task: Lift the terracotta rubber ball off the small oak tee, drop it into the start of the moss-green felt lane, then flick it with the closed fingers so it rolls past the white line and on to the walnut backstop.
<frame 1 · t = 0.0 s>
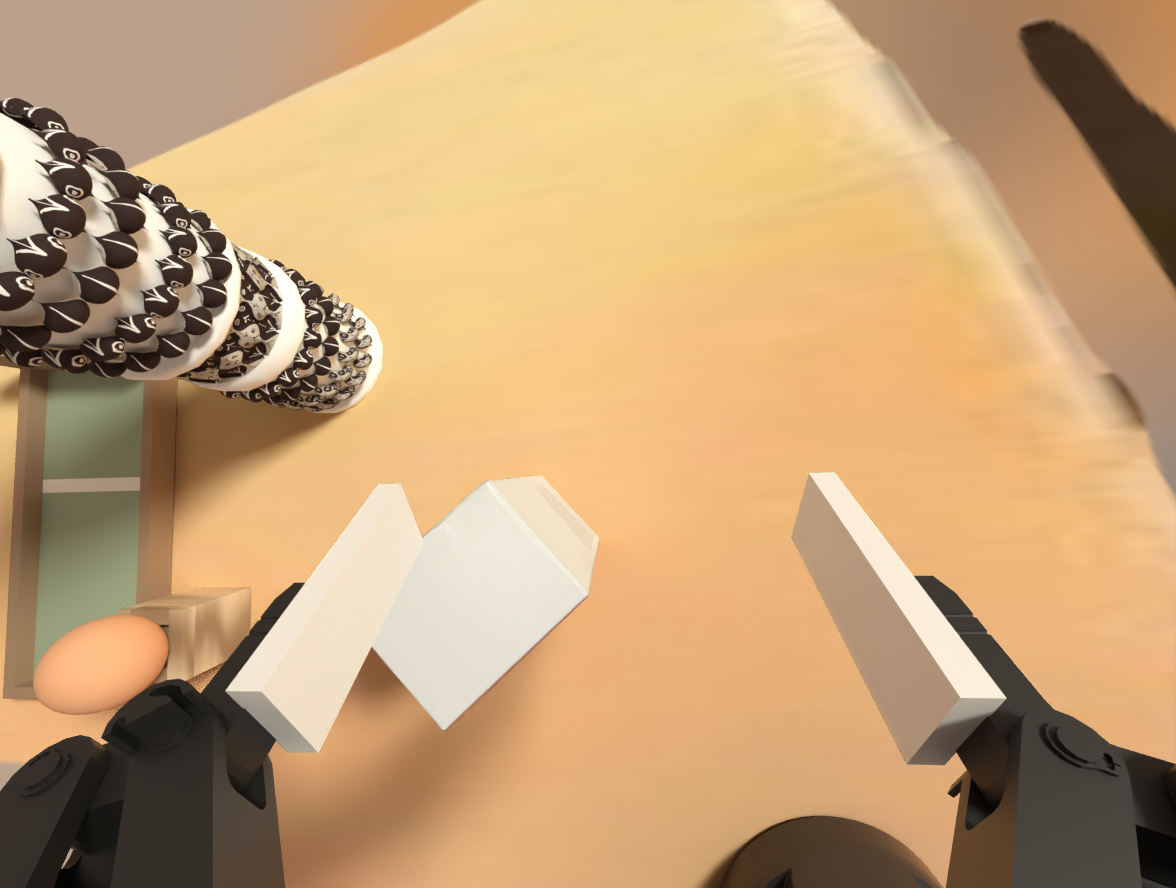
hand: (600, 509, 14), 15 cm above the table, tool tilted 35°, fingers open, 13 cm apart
decorative candle: (330, 358, 31), on the table
small box: (531, 544, 30), on the table
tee: (221, 618, 31), on the table
ball: (106, 662, 24), point 7 cm above the table, touching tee
lane: (106, 517, 32), on the table
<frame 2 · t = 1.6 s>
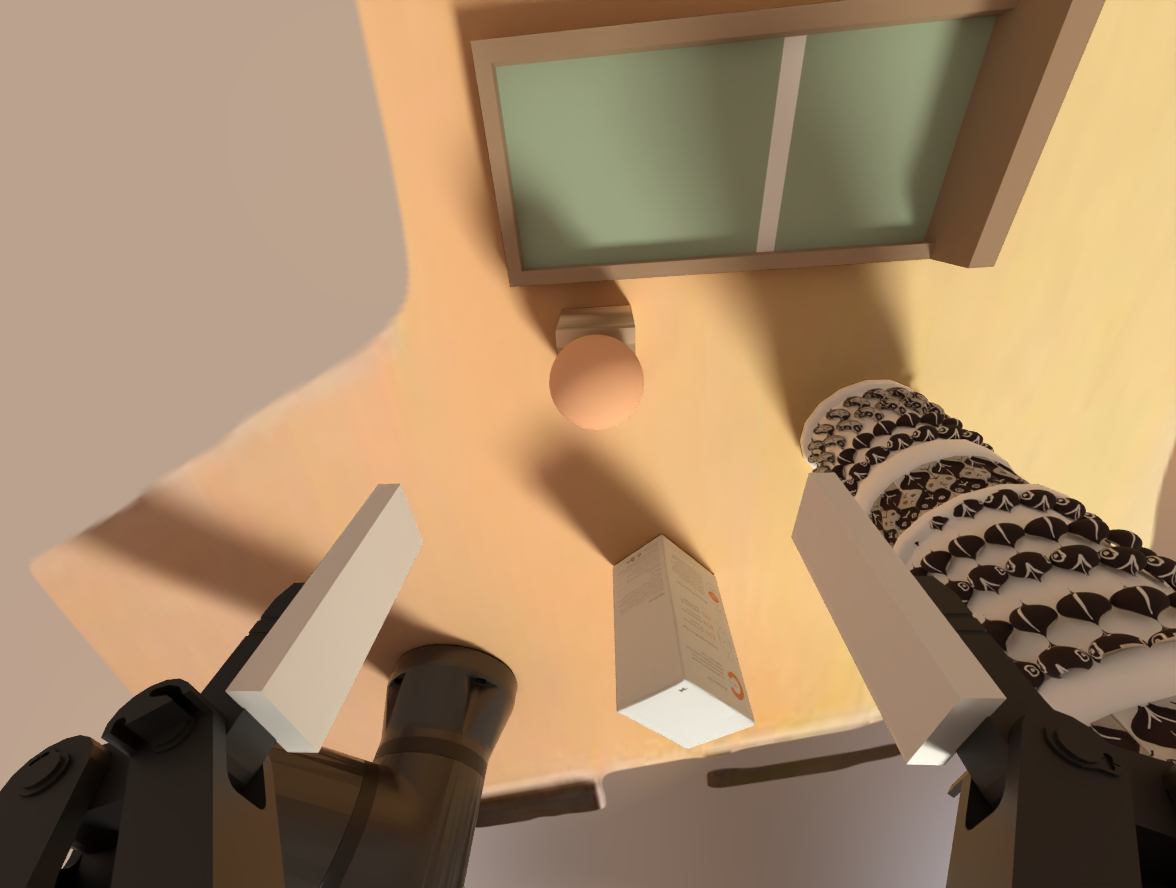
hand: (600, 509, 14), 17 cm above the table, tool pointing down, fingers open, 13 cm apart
decorative candle: (857, 429, 31), on the table
small box: (663, 569, 40), on the table
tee: (598, 340, 28), on the table
ball: (596, 382, 22), point 7 cm above the table, touching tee
lane: (727, 160, 22), on the table
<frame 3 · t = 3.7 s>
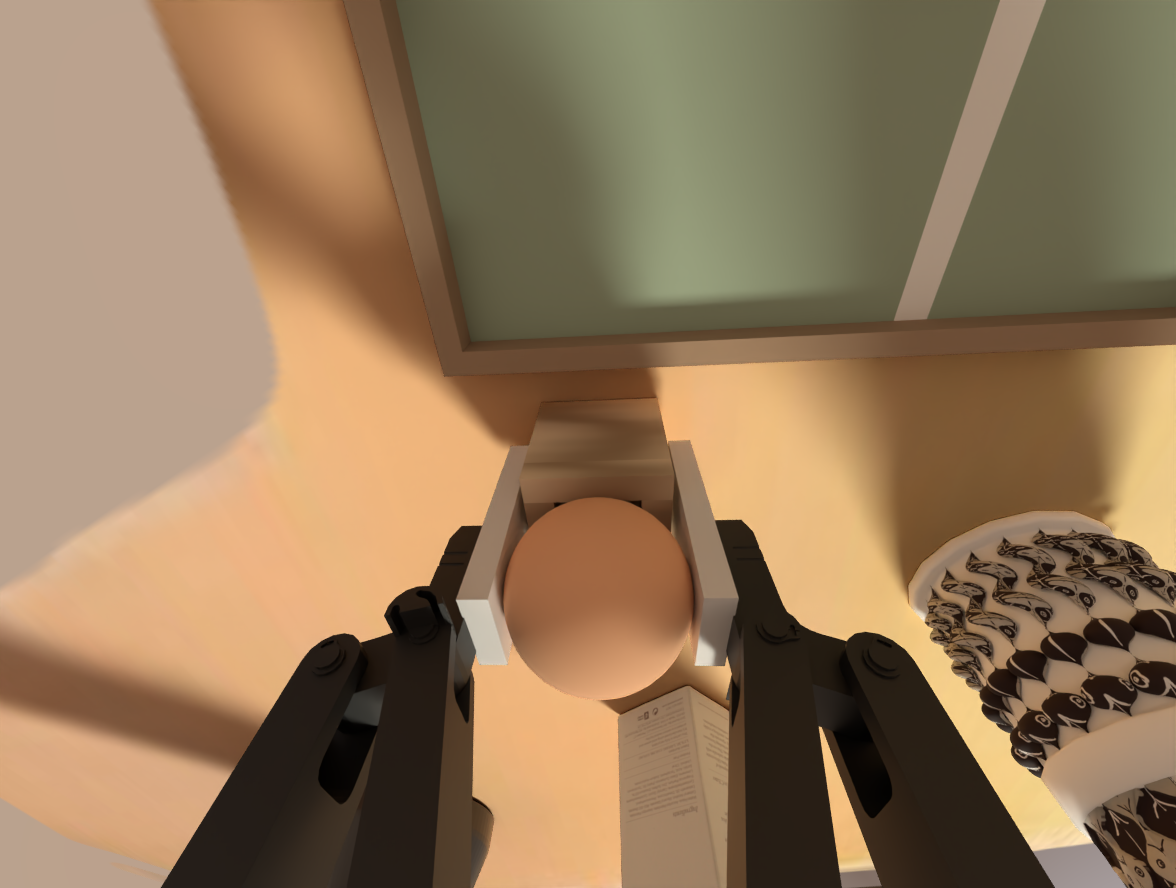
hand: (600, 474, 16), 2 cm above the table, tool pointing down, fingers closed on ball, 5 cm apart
decorative candle: (1000, 571, 20), on the table
small box: (687, 717, 29), on the table
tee: (601, 448, 17), on the table
ball: (598, 590, 11), point 7 cm above the table, touching gripper, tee
lane: (860, 149, 11), on the table
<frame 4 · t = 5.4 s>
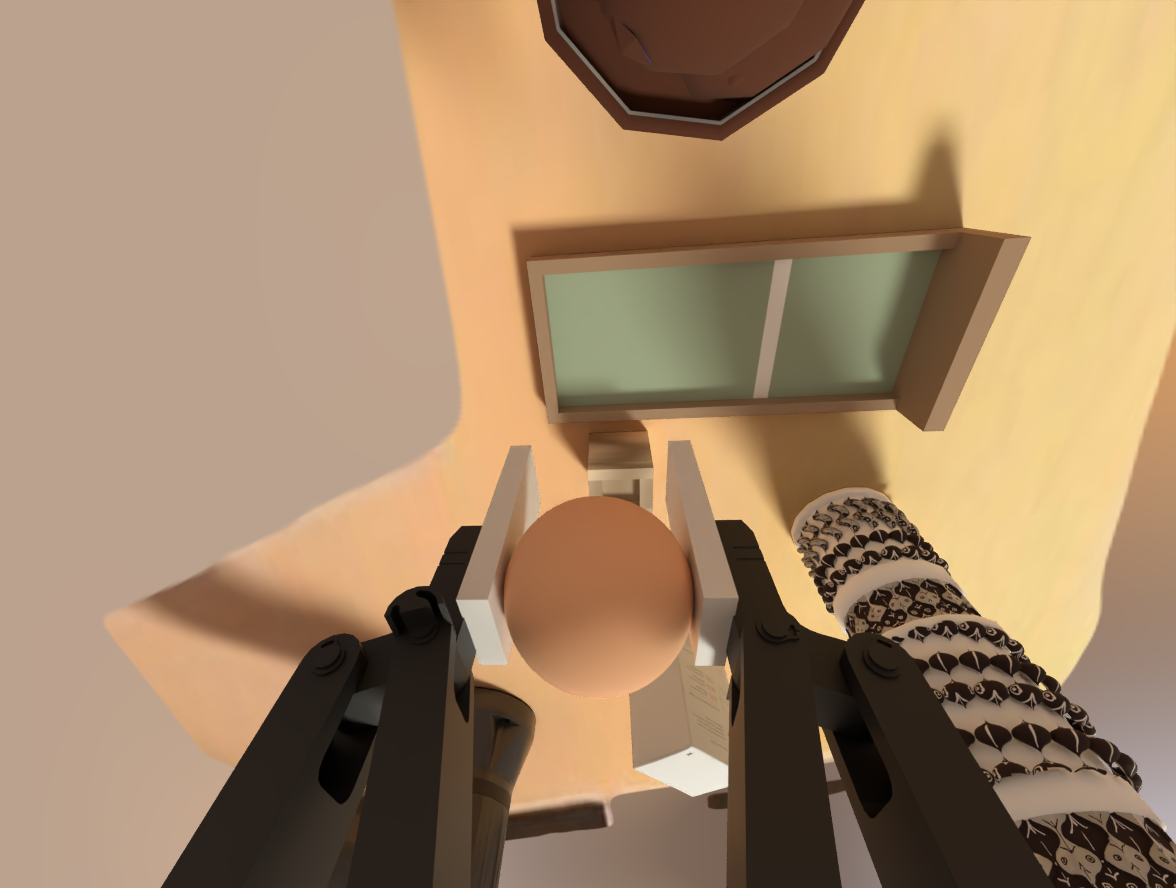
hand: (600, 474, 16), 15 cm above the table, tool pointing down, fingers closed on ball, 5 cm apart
decorative candle: (840, 522, 36), on the table
ice cream bowl: (668, 13, 20), on the table
small box: (671, 628, 45), on the table
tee: (619, 455, 33), on the table
ball: (598, 589, 11), point 20 cm above the table, touching gripper
lane: (729, 332, 28), on the table
when the fingers open (2 cm above the table, at t = 7.6 s): ball drops 4 cm, resting on lane.
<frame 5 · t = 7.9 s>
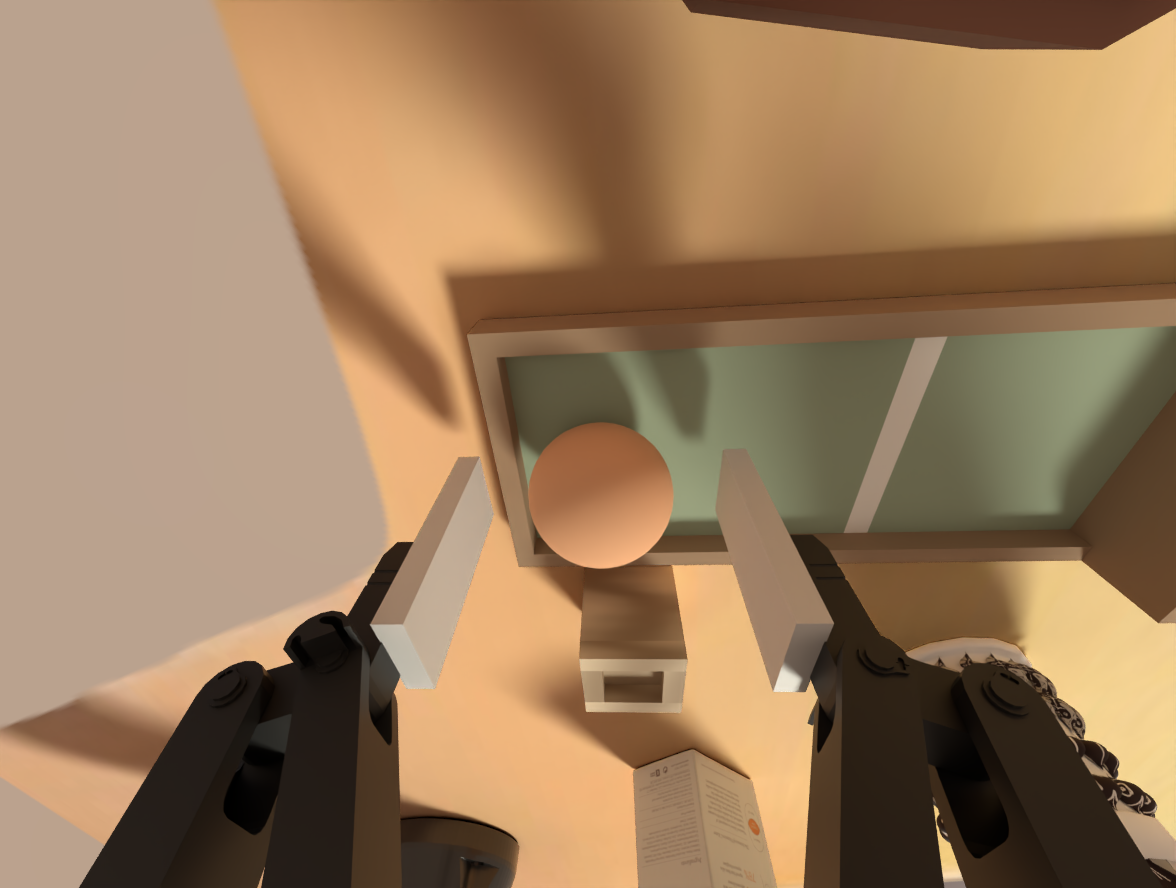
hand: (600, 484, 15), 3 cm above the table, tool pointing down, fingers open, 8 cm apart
decorative candle: (942, 674, 25), on the table
small box: (692, 771, 34), on the table
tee: (628, 594, 22), on the table
ball: (600, 493, 15), point 3 cm above the table, touching lane
lane: (815, 439, 17), on the table
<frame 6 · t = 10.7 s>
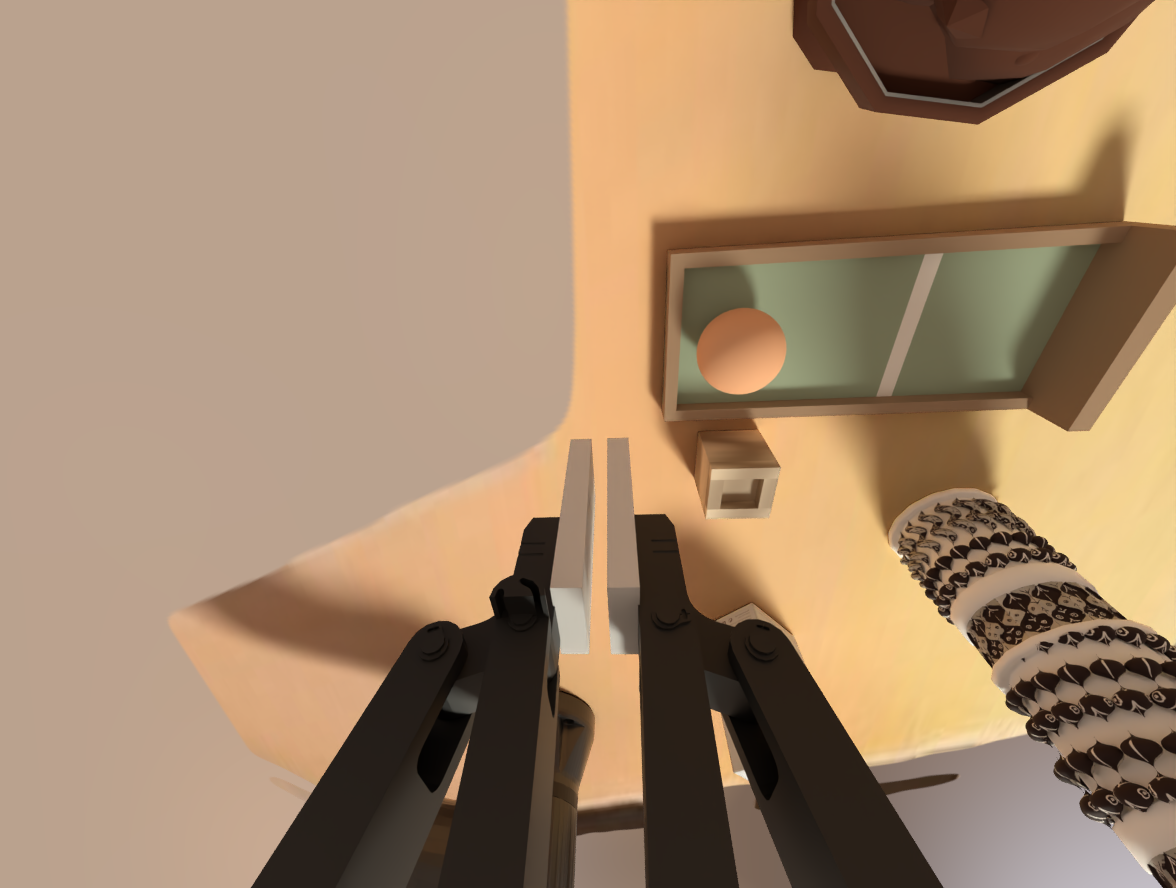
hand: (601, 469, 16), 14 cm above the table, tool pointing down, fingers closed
decorative candle: (940, 524, 36), on the table
small box: (747, 629, 45), on the table
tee: (724, 454, 32), on the table
ball: (739, 352, 25), point 3 cm above the table, touching lane
lane: (860, 329, 27), on the table
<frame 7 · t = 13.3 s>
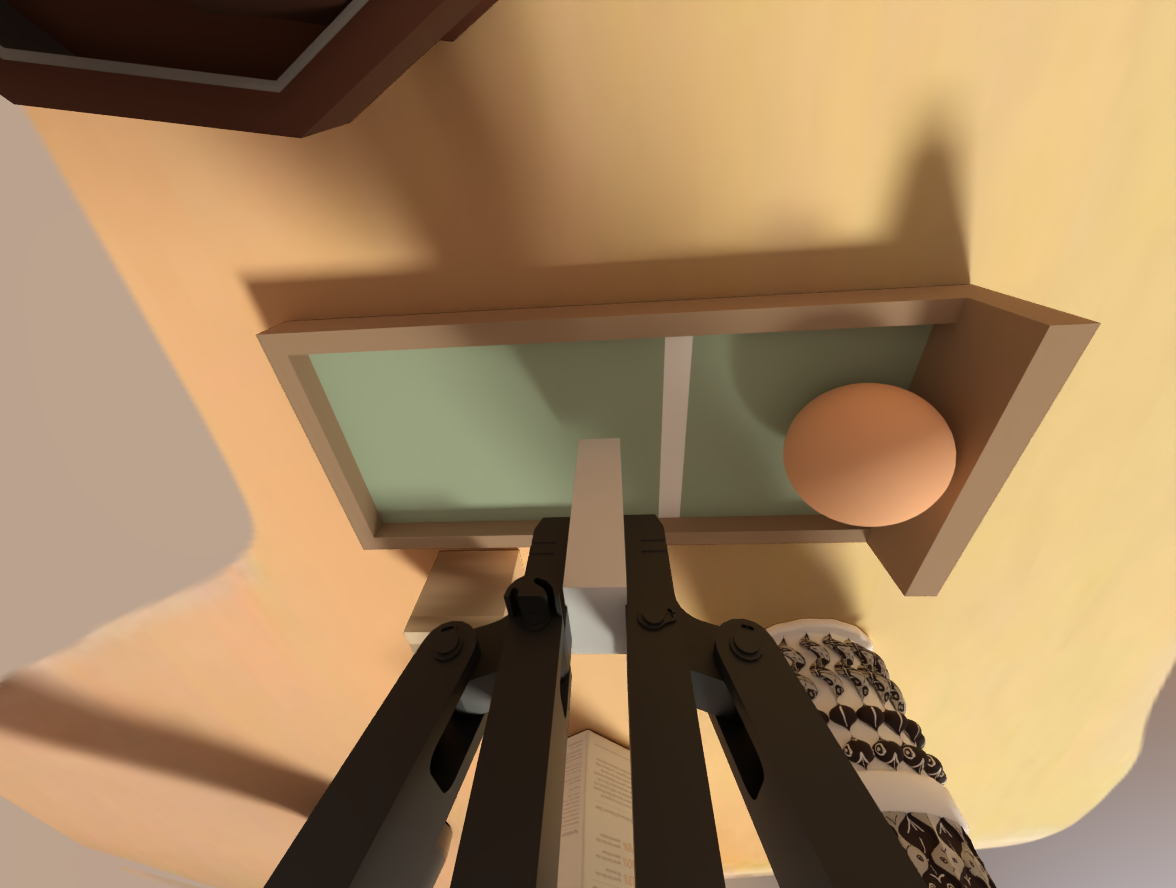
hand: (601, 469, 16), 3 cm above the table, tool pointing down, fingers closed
decorative candle: (799, 654, 27), on the table
small box: (595, 752, 36), on the table
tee: (486, 577, 24), on the table
ball: (861, 454, 15), point 3 cm above the table, tilted 9°, touching lane
lane: (613, 430, 18), on the table
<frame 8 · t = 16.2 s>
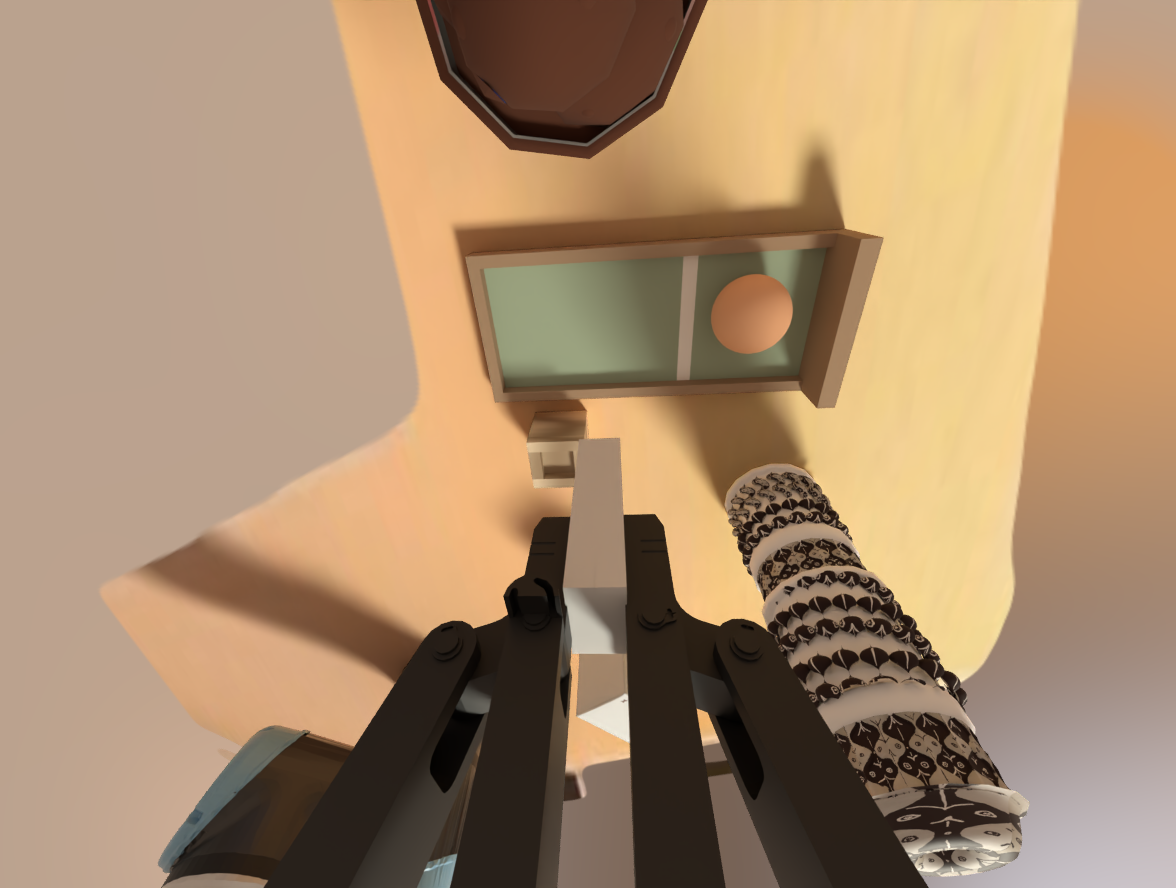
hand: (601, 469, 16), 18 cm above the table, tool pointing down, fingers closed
decorative candle: (769, 497, 40), on the table
ice cream bowl: (574, 45, 23), on the table
small box: (624, 598, 49), on the table
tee: (563, 433, 37), on the table
ball: (750, 315, 27), point 3 cm above the table, tilted 67°, touching lane
lane: (651, 321, 31), on the table
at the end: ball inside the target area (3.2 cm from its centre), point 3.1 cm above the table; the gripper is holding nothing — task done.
